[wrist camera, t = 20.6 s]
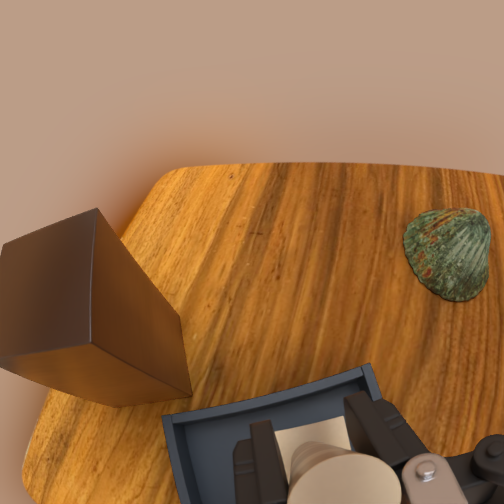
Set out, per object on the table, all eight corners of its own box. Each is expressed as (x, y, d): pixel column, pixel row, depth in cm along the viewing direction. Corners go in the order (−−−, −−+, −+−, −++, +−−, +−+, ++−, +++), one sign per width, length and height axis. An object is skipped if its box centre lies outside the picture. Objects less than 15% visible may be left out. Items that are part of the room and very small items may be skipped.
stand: (114, 407, 22) (-16, 360, 10) (107, 331, 26) (2, 243, 14) (193, 396, 22) (91, 342, 10) (179, 315, 26) (97, 206, 14)
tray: (204, 533, 16) (192, 545, 13) (176, 418, 21) (160, 415, 19) (396, 485, 16) (410, 491, 14) (360, 371, 22) (370, 362, 19)
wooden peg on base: (282, 493, 17) (255, 599, 4) (270, 432, 20) (219, 431, 6) (350, 477, 17) (453, 544, 4) (337, 417, 20) (422, 380, 6)
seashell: (397, 204, 24) (465, 175, 26) (384, 230, 28) (450, 200, 29) (463, 305, 20) (523, 255, 21) (440, 321, 23) (502, 274, 25)
